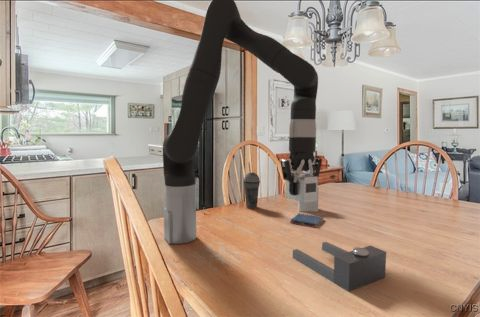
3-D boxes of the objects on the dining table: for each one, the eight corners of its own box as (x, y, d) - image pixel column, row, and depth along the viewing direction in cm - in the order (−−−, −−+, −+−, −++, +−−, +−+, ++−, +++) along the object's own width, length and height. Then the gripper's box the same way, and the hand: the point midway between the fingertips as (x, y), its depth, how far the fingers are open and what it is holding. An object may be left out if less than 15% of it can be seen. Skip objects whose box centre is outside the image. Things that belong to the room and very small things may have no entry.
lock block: (304, 203, 76) (305, 177, 75) (285, 196, 83) (286, 173, 83) (317, 201, 78) (318, 176, 78) (298, 195, 86) (298, 172, 85)
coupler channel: (348, 291, 57) (349, 259, 56) (292, 257, 73) (293, 232, 72) (385, 277, 63) (386, 248, 62) (325, 248, 79) (326, 225, 78)
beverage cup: (260, 209, 119) (260, 163, 117) (243, 209, 119) (243, 163, 117) (259, 205, 126) (259, 161, 124) (243, 205, 126) (243, 161, 124)
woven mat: (325, 221, 105) (325, 216, 104) (317, 229, 95) (317, 224, 95) (298, 217, 110) (298, 212, 110) (288, 224, 101) (288, 219, 101)
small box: (316, 208, 121) (316, 184, 120) (318, 211, 115) (318, 187, 114) (297, 207, 122) (297, 184, 121) (298, 211, 116) (299, 186, 115)
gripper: (311, 135, 86) (310, 189, 88) (274, 135, 79) (273, 193, 81) (330, 136, 79) (328, 194, 81) (291, 135, 73) (289, 199, 74)
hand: (300, 193), depth 81 cm, fingers closed on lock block, 5 cm apart
